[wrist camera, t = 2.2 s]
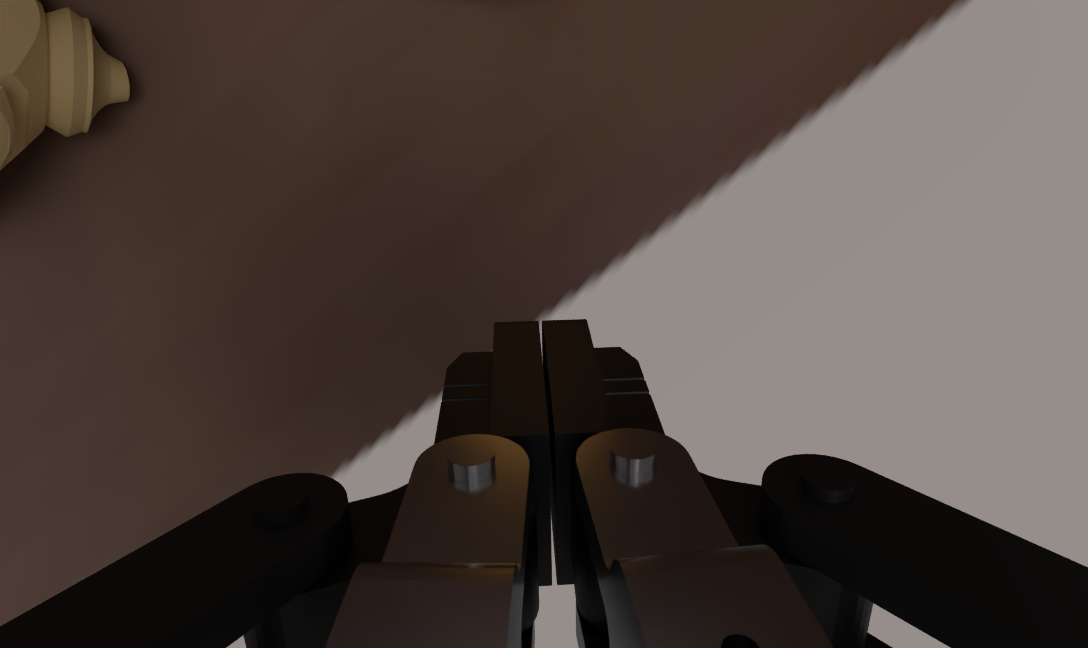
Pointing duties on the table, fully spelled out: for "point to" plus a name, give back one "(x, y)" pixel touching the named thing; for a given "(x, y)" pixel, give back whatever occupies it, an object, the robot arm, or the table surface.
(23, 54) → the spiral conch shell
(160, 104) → the table surface
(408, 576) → the robot arm
